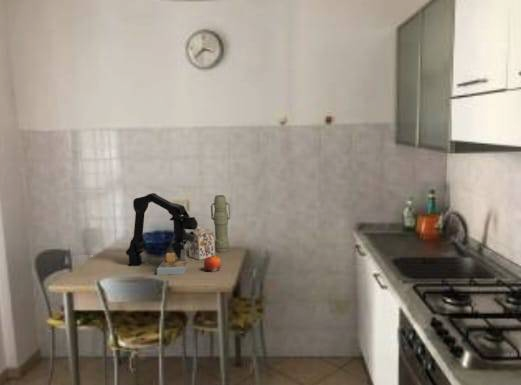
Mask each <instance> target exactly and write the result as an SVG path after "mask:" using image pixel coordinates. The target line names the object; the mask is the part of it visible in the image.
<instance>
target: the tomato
mask: <svg viewBox="0 0 521 385" xmlns="http://www.w3.org/2000/svg"><path fill="white" fill-rule="evenodd" d="M221 266H222V262H221V258H219V257H218V256H216V255H215V256H211V257H207V258H206V259H203V267H204V269H206V271H207V270H208V271H211V272H215V271H219V270H220V268H221Z"/></svg>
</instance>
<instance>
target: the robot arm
mask: <svg viewBox="0 0 521 385" xmlns="http://www.w3.org/2000/svg"><path fill="white" fill-rule="evenodd" d="M150 203H153V204H155V205H157V206H158V207H161V208H162V209H164V210H166V211H167V212H168V214H169V215H171V217H170V218H169V221H173V232H172V233H173V241H172V242H171V244H170V246H171V248H172V250H173V251H174V252H173V253H175V256H176V257H177V259H180V258H181V250H182V249H185V245H186V244H187V243H188V242H189V241H190V242H193V241H194V239H195V235H194V232H192V231H193V230H197V228H198V221H197V219H196V217H195V216H190V214H189V213H188V212H187V210H186V208H185V206H184V205H183V204H179V203H174V202H171V201H170V200H167V199H166V198H164V197H162V196H160V195H158V194H157V193H156V192H152V193H148V194H146V195H145V196H144V195H143V196H139V197H135V198H134V199H133V203H132V206H133V210H134V212H135V215H134V216H135V218H134V227H133V228H134V229H133V236H132V239H131V240H130V242H129V246H128V249H127V250H126V251H125V254H126V256H128V261H129V262H128V263H129V264H128V266H129V267H130V266H131V267H133V266H134V267H135V266H136V267H137V266H141V265H142V264H143V256H142V253H143V252H144V250H145V248H146V244H147V239H144V238H143V236H144V235H143V234H144V223H145V222H144V221H145V213H146V211H147V210H148V207H149V204H150ZM186 230H189V232H187V231H186Z"/></svg>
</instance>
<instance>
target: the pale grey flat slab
mask: <svg viewBox="0 0 521 385" xmlns="http://www.w3.org/2000/svg"><path fill="white" fill-rule="evenodd" d="M188 265H189V264H188V263H187V264H186V267H163V261H162V262H161V263H160V264H159V266H158V268H156V275H157V276H163V275H165V276H167V275H168V274H173V275H184V274H185V273H186V270H187V268H188Z"/></svg>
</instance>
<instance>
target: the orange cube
mask: <svg viewBox="0 0 521 385" xmlns="http://www.w3.org/2000/svg"><path fill="white" fill-rule="evenodd" d="M165 258H166V260H167V262H174V261H175V259H176V253H175V252H166V254H165Z"/></svg>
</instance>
